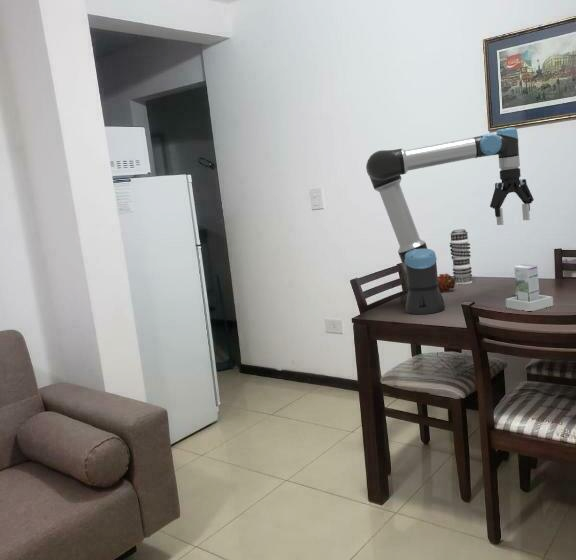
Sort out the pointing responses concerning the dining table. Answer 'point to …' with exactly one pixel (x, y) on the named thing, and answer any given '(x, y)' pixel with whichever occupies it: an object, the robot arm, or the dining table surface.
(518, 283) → the syrup box
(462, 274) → the decorative candle
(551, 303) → the tray
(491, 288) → the dining table surface
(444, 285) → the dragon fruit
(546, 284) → the dining table surface
